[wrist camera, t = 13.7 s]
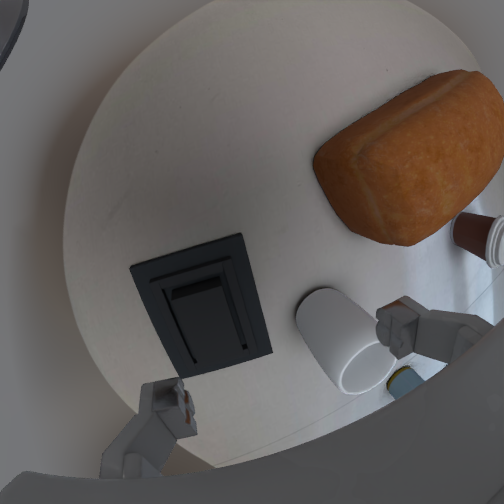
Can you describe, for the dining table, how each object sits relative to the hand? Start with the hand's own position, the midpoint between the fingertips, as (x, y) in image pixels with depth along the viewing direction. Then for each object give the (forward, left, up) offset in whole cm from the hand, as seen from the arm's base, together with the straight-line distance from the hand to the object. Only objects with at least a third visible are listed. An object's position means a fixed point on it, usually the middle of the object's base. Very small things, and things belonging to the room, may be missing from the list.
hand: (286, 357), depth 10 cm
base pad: (-5, -10, -24) cm, 27 cm away
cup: (+10, -15, -24) cm, 31 cm away
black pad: (-5, -11, -23) cm, 26 cm away
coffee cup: (+42, -11, -24) cm, 50 cm away
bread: (+29, +6, -25) cm, 38 cm away
